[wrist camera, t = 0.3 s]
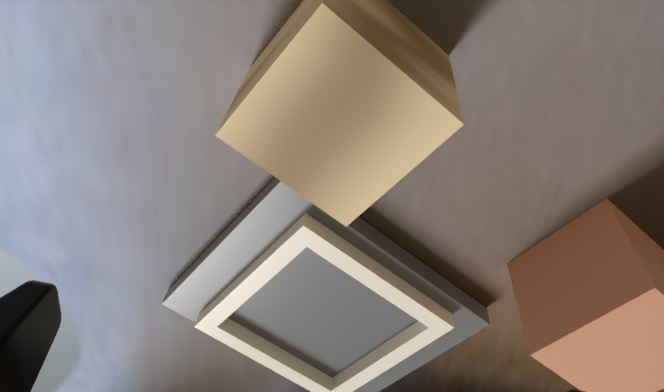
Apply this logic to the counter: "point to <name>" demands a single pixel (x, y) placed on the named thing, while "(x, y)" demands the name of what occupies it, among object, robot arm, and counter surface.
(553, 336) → the terracotta block
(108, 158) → the counter surface
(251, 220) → the baseplate
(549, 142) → the counter surface
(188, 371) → the counter surface
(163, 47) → the counter surface
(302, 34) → the maple block
